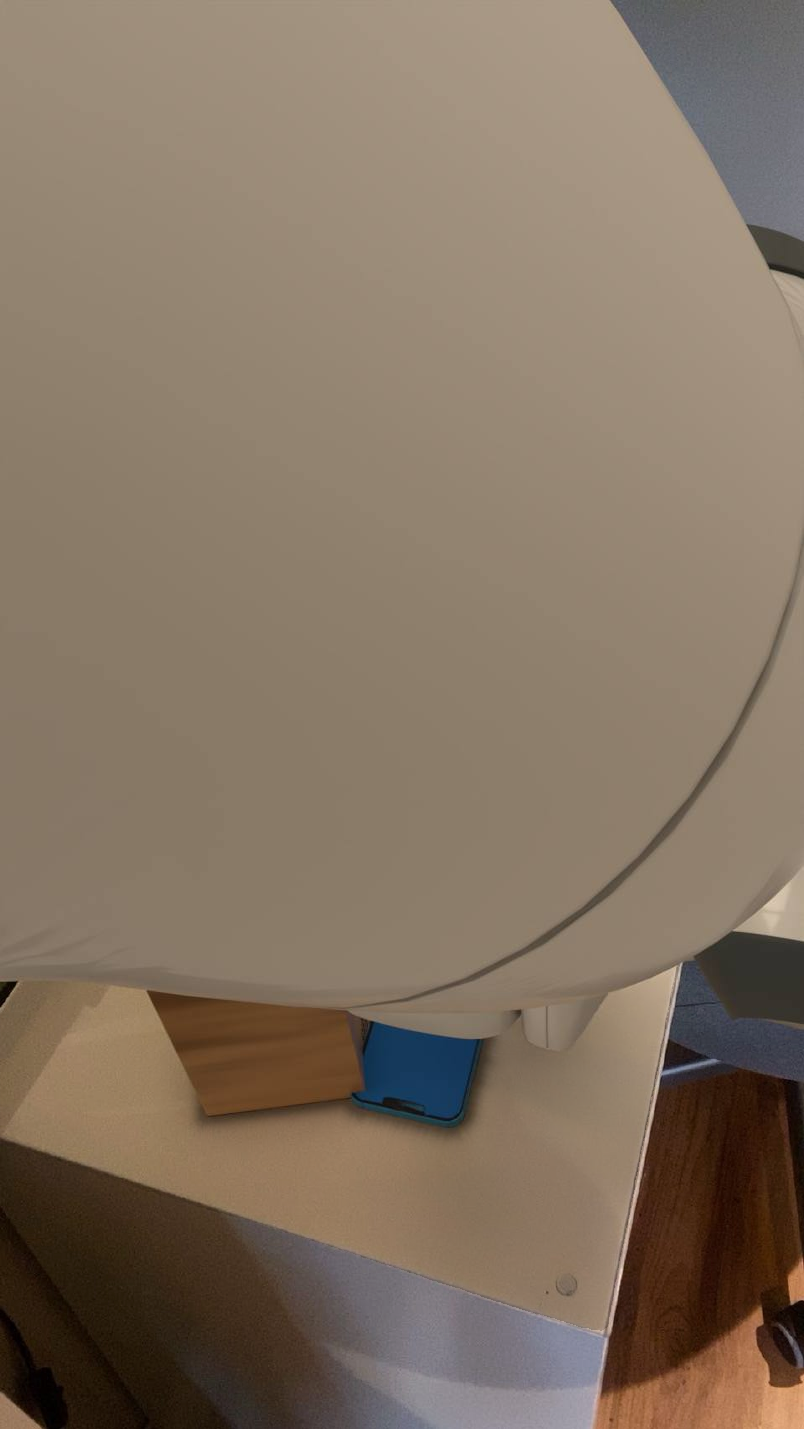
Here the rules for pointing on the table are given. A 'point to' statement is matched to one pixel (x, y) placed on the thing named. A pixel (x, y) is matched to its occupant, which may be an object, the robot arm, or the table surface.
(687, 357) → the robot arm
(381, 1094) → the smartphone
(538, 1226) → the table surface
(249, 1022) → the display stand
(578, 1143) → the table surface
